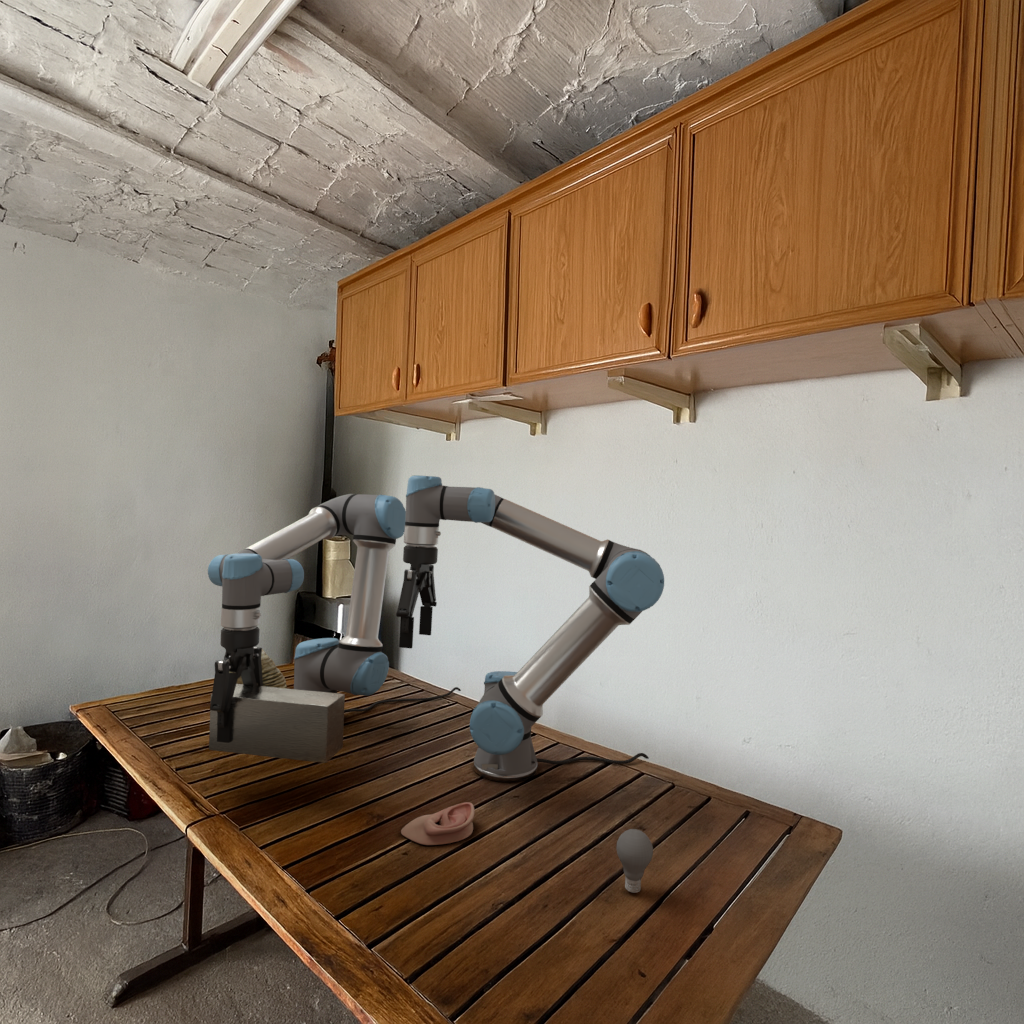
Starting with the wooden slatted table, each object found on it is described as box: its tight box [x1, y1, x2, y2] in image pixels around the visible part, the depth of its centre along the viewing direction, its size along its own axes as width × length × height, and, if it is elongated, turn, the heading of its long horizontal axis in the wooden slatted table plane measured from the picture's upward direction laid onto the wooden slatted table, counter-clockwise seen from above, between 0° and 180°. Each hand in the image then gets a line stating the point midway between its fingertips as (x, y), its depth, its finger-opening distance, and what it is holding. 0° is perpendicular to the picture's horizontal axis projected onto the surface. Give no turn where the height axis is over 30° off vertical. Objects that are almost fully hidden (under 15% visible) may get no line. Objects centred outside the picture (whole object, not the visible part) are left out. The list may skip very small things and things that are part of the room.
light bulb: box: [615, 828, 654, 894], centre depth 106 cm, size 6×6×10 cm
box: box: [208, 684, 346, 764], centre depth 133 cm, size 26×8×12 cm, turn 81°
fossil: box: [229, 648, 288, 689], centre depth 198 cm, size 9×18×15 cm, turn 132°
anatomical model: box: [400, 801, 476, 846], centre depth 122 cm, size 13×4×12 cm
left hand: (236, 733), depth 134 cm, fingers closed on box, 8 cm apart
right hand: (415, 641), depth 140 cm, fingers open, 13 cm apart
